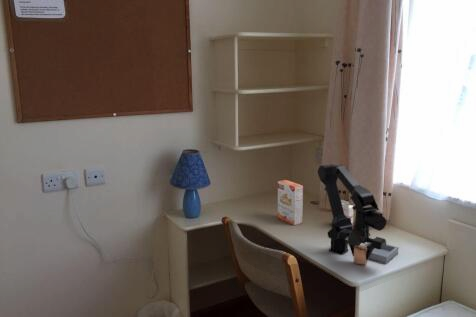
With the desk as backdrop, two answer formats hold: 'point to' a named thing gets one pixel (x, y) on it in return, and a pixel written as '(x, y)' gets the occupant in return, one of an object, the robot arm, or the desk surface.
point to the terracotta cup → (360, 254)
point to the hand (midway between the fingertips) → (360, 258)
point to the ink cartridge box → (347, 210)
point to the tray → (383, 253)
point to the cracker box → (290, 202)
